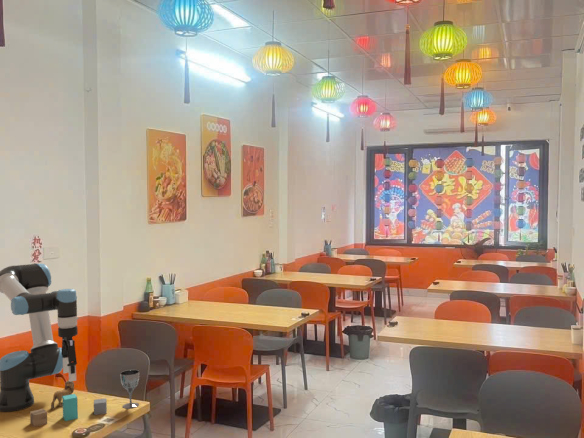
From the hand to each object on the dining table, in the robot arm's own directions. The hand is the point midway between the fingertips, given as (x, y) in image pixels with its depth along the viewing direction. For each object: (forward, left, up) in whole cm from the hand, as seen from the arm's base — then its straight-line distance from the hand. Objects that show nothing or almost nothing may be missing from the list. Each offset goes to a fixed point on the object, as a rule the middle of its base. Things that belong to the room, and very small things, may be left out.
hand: (69, 376), depth 227 cm
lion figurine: (-20, 0, -18) cm, 27 cm away
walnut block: (-1, -12, -18) cm, 21 cm away
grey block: (+1, +12, -18) cm, 21 cm away
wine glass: (+1, +25, -18) cm, 31 cm away
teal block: (0, 0, -18) cm, 18 cm away
